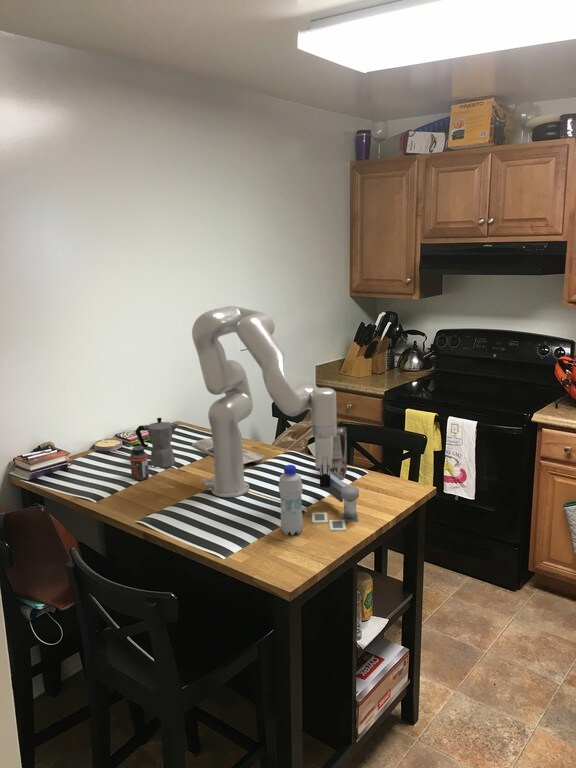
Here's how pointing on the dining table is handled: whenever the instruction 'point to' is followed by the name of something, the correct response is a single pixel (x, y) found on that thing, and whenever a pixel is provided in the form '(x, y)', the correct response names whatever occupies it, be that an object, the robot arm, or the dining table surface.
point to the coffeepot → (159, 442)
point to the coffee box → (339, 453)
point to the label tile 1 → (319, 518)
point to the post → (350, 510)
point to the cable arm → (342, 489)
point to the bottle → (291, 500)
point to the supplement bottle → (139, 463)
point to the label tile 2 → (337, 525)
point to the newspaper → (207, 448)
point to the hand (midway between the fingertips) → (325, 486)
